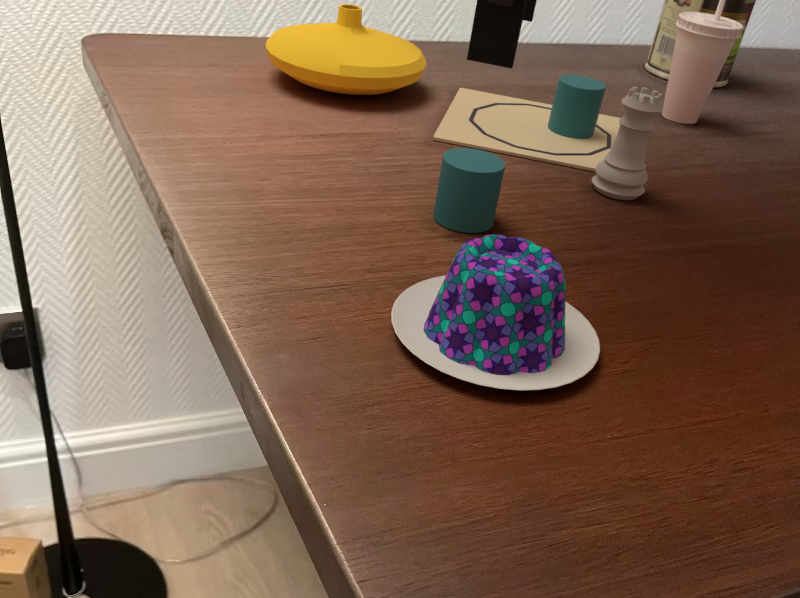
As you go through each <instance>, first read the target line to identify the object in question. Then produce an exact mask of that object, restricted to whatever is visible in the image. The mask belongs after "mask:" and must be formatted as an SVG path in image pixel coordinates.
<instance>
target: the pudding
mask: <svg viewBox="0 0 800 598" xmlns="http://www.w3.org/2000/svg"><path fill="white" fill-rule="evenodd" d="M448 268H449V269H448V271H447V273H446V275H440V276H436V277H430V278H428V279H424V280H422V281H419V282H417V283H415V284H413V285H411V286H409V287H407V288H406V289H405V290H404V291H403V292H402V293H400V294H399V295H398V296H397V298H396V299H395V300H394V302H393V305H392V309H391V313H390V314H391V316H390V317H391V324H392V327H393V330H394V333H395V334H396V336H397V337H398V339H399V340H400V342H401V343H402V344H403V345H404V346H405V347H406V348H407V350H409V352H411V354H413V355H414V356H416V357H417V358H418V359H420V360H421V361H422V362H424V364H425V363H426V365H429V366H431V367H433V368H434V369H436V370H437V371H440V372H441V373H444V374H446V375H449V376H451V377H453V378H456V379H459V380H461V381H465V382H468V383H471V384H475V385H478V386H483V387H488V388H489V387H490V388H494V389H501V390H512V391H540V390H546V389H553V388H558V387H561V386H564V385H568V384H572V383H573V382H575V381H577V380H580V379H581V378H583V377H584V376H586V375H587V374H588V373H589V372H591V370H593V368H594V367H595V365H596V363H597V362H598V361H599V357H600V353H601V344H600V339H599V337H598V334H597V331H596V329H595V328H594V326H593V325H592V324H591V322H590V321H589V319H587V318H586V316H584V314H583V313H581V312H580V311H579V310H578V309H577V308H576V307H574V306H573V305H572V304H570V303H568V302H567V301H566V276H565V272H564V268H563V267H562V265H561V264H560V263H559V260H558V257H557V256H556V255H555V254H554V253H553V252H552V251H551V250H549V249H548V248H547V247H543V246H539V245H537V244H536V243H535V242H533V241H532V240H530V239H527V238H524V237H519V236H513V237H508V236H505V235H503V234H496V233H495V234H493V233H492V234H486V235H484V236H483V237H481V238H480V237H474V238H471V239H469V240H466V241H464V243H463V244H462V245H461V246H460V248H459V249H458V250H457V251H456V253H455V256H454V258H453V260H452V262H451V263H450V266H449V267H448Z"/></svg>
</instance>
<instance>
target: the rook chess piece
mask: <svg viewBox="0 0 800 598" xmlns="http://www.w3.org/2000/svg"><path fill="white" fill-rule="evenodd" d="M648 90H649V88H648V87H643V86H641V89H640V92H638V91H639V87H638V86H632V87H631V88H629V90H628V93H627V95H625V96H624V97H623V98H622V99H621V104H622V107H623V110H624V111H623V115H622V116H621V117H620V118H621V119H619V123H620V127H619V130H618V134H617V136H616V138H615V141H614V143H613V145H612V147H611V149H610V151H609V153H608V154H607V155H605V156H604V160H603V161H601V162H600V163H598V165H597V166H596V168H595V169H596V172H595V175H594V176H592V177H591V183H592V186H593V188H594V189H595V190H596V191H597V192H598V193H600V194H601V195H603V196H604V197H608V198H611V199H613V200H614V199H615V200H620V201H633V200H637V199H639V197H641V196H642V195H643V194H644V193H645V192H646V189H645V187H644V185H645V184H647V182H648V181H649V179H648V178H649V177H648V171H647V170H646V168H647V163H646V153H647V148H648V141H649V138H650V136H651V132H652V131H653V130H655V125H654V120H655V119H656V117H657V116H658V115H659V114H660V113H662V111H663V104H662V99H663V94H662V93H660V91H658V90H656V89H653V90H651V94H648V92H649V91H648Z"/></svg>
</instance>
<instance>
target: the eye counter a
mask: <svg viewBox="0 0 800 598" xmlns="http://www.w3.org/2000/svg"><path fill="white" fill-rule="evenodd" d="M505 169H506V162H505V161H504V160H503V159H502V158H501V157H500V156H498V155H497V154H494V153H493V152H490V151H487V150H482V149H476V148H471V147H455V148H451V149H448V150H446V151H444V152H443V154H442V158H441V165H440V171H439V177H438V183H437V190H436V196H435V201H434V209H433V220H435V222H436V223H438V224H439V225H440V226H441V227H444V228H446V229H448V230H451V231H454V232H459V233H464V234H480V233H484V232H488V231H489V230H491V229H492V227H494V223H495V217H496V213H497V208H498V204H499V198H500V194H501V189H502V184H503V181H504V180H503V179H504V174H505Z"/></svg>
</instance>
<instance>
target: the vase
mask: <svg viewBox="0 0 800 598" xmlns="http://www.w3.org/2000/svg"><path fill="white" fill-rule="evenodd" d="M362 17H363V8H362V7H361V6H359V5H356V4H351V3H350V4H349V3H341V4H339V5H338V11H337V19H336V21H335V22H319V23H301V24H294V25H293V24H292V25H288V26H285V27H284V26H283V27H282V28H278V29H277V30H275V31H274V32H272V34H271V35H270V36H269V38H268V39H266V42H265V50H266V53H267V57H268V60H269V62H270V63H271V64H272V65H273V67H275V68H276V69H278V70H279V71H282V72H283V73H285V74H286V75H288V76H289V77H291V78H293V79H294V80H296V81H297V82H299V83H301V84H303V85H306V86H307V87H311V88H313V89H317V90H322V91H325V92H330V93H335V94H336V93H337V94H343V95H354V96H355V95H356V96H357V95H359V96H361V95H362V96H371V95H382V94H386V93H391V92H394V91H396V90H399V89H402V88H406V87H408V86H410V85H413V84H415V83H416V82H418V81H419V80H420V78H421V77H422V75H423V73H424V71H425V69H426V67H427V64H428V63H427V60H426V57H425V56H424V54H423V52H422V50H421V48H419V47H418V46H417V45H416V44H414V43H413V42H411V41H409V40H407V39H406V38H403V37H400V36H397V35H394V34H391V33H388V32H384V31H381V30H378V29H375V28H371V27H368V26H363V23H362V19H363V18H362Z"/></svg>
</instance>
